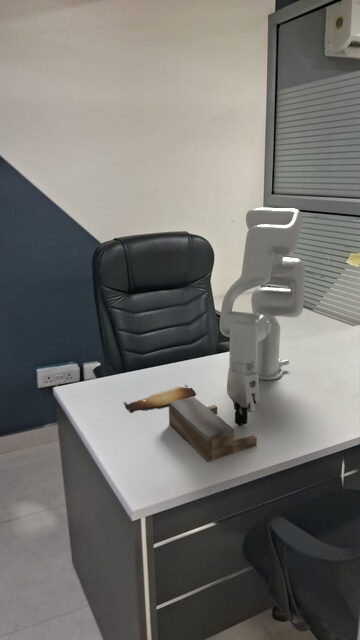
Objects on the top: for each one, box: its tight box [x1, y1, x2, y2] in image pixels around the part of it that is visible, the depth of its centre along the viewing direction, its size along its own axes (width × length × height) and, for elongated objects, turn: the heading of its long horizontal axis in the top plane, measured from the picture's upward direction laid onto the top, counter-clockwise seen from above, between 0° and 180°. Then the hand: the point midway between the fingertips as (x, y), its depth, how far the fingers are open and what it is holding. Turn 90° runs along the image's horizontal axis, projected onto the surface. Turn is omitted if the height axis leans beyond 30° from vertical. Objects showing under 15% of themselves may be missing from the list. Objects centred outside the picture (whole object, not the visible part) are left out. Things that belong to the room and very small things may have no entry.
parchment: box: [124, 384, 197, 413], centre depth 155 cm, size 25×10×1 cm, turn 122°
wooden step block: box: [168, 395, 258, 463], centre depth 133 cm, size 16×21×7 cm
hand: (241, 423), depth 139 cm, fingers closed
